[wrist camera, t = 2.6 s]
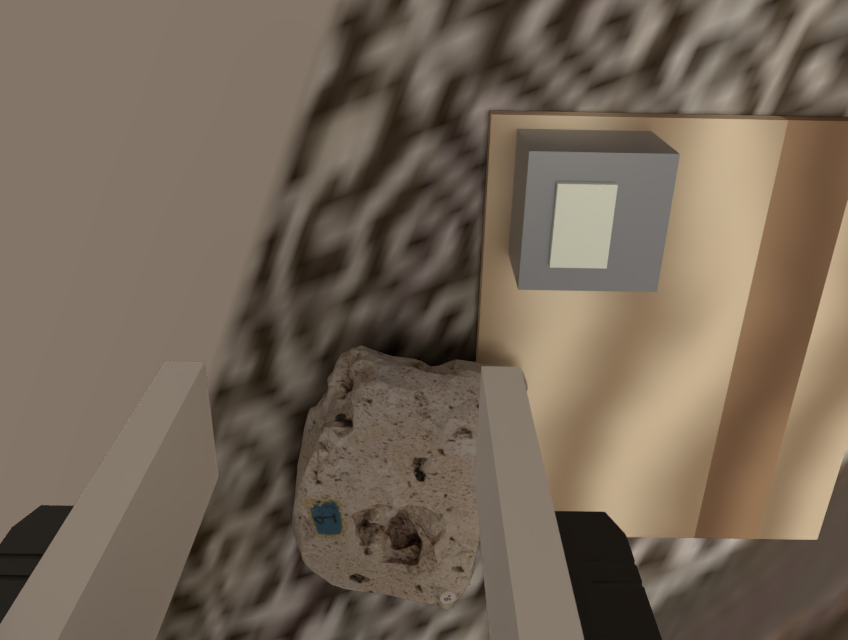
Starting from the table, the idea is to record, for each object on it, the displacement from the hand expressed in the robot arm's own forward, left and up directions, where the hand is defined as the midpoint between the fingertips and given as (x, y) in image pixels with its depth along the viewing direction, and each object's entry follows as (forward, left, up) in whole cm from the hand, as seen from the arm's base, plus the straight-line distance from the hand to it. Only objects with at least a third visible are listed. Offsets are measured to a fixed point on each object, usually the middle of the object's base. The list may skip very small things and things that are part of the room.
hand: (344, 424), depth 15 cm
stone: (+1, -12, -16) cm, 20 cm away
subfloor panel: (+12, -7, -17) cm, 22 cm away
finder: (+7, 0, -16) cm, 18 cm away
